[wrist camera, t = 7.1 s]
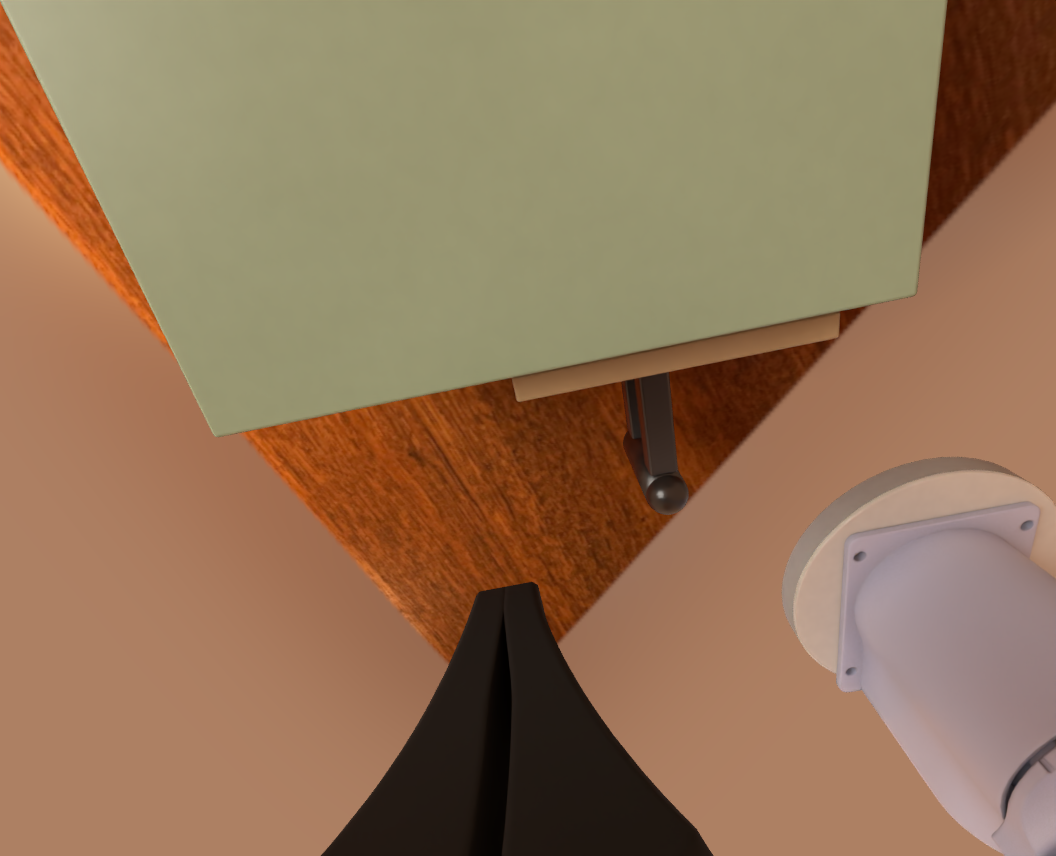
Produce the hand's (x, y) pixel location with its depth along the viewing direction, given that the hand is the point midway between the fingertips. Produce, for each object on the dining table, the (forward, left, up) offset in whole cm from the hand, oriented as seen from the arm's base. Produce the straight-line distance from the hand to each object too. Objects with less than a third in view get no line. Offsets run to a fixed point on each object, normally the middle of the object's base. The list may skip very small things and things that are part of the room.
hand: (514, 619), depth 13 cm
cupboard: (+10, -2, -9) cm, 14 cm away
